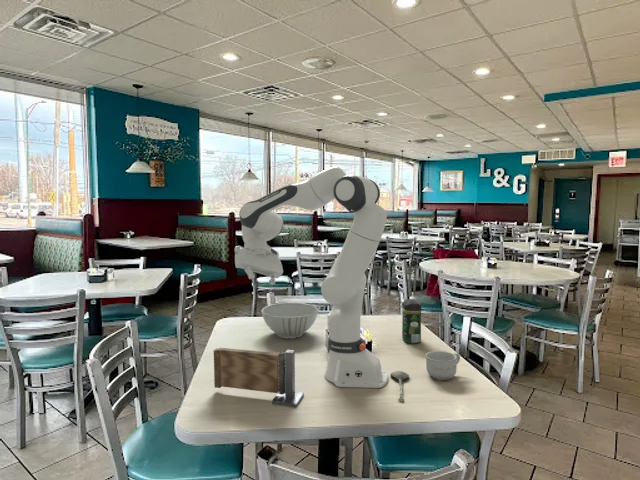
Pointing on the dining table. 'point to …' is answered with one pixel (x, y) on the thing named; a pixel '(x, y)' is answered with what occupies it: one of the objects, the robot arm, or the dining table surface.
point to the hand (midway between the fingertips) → (262, 281)
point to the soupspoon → (400, 380)
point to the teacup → (442, 364)
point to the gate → (249, 370)
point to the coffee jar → (411, 321)
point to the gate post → (289, 384)
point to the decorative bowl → (289, 318)
